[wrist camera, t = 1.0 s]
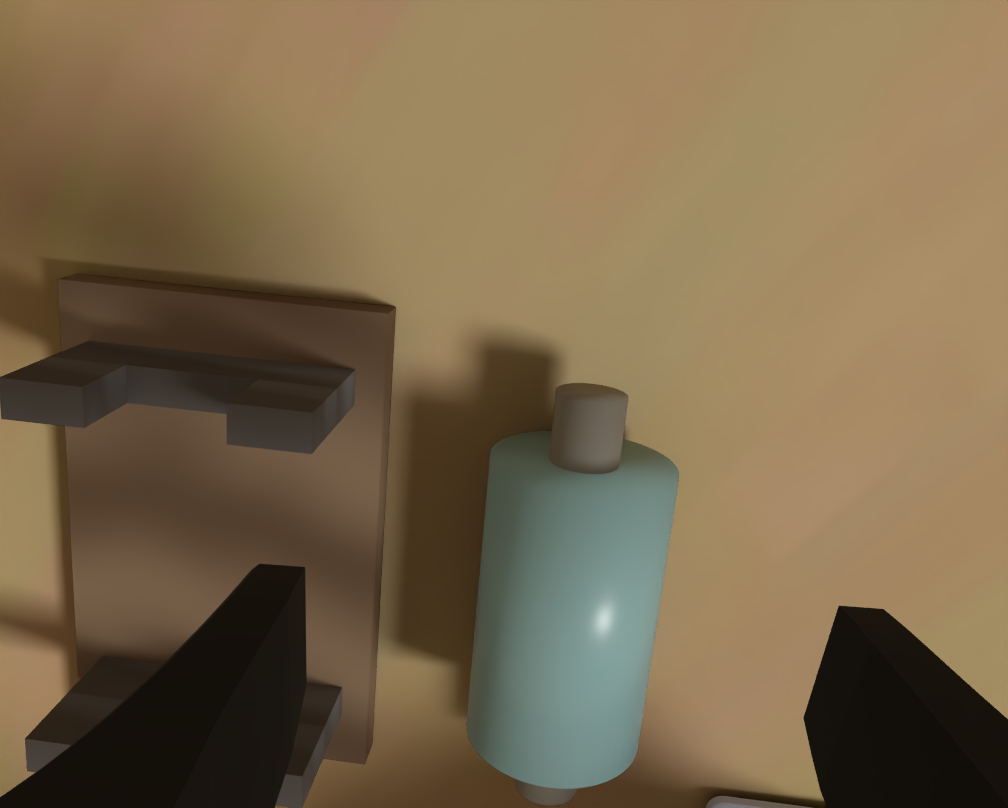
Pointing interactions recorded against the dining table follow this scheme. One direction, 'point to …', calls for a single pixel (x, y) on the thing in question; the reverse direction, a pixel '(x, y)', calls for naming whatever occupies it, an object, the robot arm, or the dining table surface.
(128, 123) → the dining table surface
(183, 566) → the holder
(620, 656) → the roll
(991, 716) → the robot arm
